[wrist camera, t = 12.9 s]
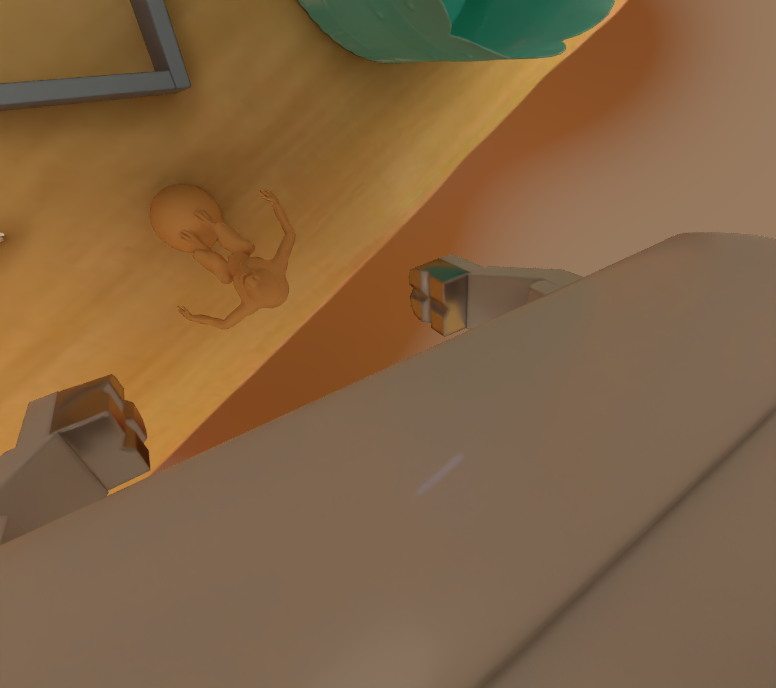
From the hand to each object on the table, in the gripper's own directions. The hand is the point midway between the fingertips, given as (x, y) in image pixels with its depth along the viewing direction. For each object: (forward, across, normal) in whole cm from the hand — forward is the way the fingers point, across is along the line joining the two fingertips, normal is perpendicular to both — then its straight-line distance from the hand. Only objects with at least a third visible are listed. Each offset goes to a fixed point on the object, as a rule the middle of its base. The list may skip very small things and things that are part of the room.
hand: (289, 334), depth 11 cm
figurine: (+20, 0, +1) cm, 20 cm away
